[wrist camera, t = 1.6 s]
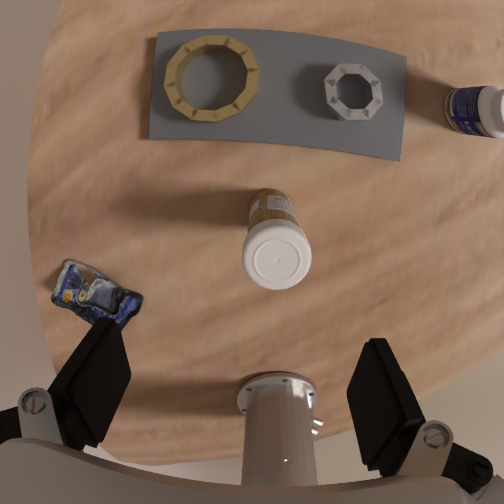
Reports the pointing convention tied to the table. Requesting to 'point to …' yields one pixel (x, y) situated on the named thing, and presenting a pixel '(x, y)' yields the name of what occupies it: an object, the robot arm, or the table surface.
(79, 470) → the robot arm
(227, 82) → the mounting board
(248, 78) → the brass collar
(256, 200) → the sprinkles bottle
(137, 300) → the snack package
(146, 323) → the table surface
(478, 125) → the pill bottle
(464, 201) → the table surface
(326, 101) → the steel collar
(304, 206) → the table surface
